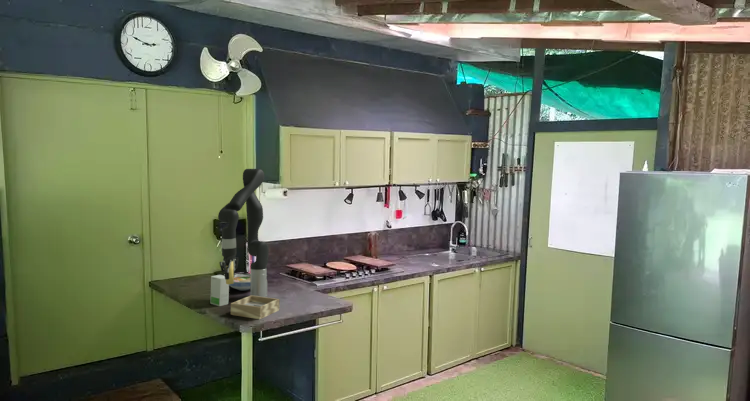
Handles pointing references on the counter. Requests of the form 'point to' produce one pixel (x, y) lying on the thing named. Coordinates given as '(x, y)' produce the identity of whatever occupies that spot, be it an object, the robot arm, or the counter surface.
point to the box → (255, 307)
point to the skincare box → (219, 290)
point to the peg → (230, 275)
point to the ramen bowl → (241, 282)
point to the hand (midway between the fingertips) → (229, 278)
